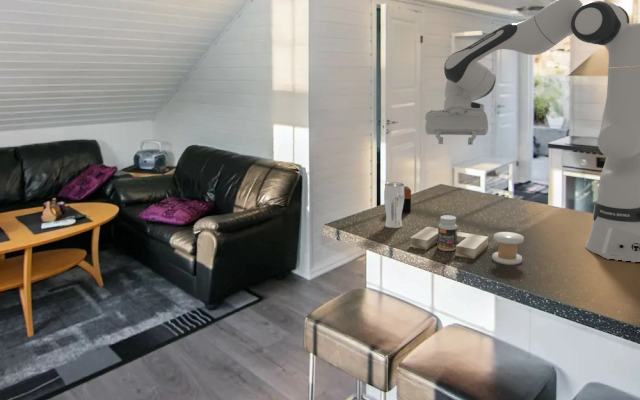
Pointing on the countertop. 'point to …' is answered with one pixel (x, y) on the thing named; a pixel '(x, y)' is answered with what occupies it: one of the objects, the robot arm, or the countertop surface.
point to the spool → (507, 248)
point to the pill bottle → (447, 233)
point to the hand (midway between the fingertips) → (455, 143)
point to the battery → (407, 200)
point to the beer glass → (394, 204)
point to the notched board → (465, 245)
